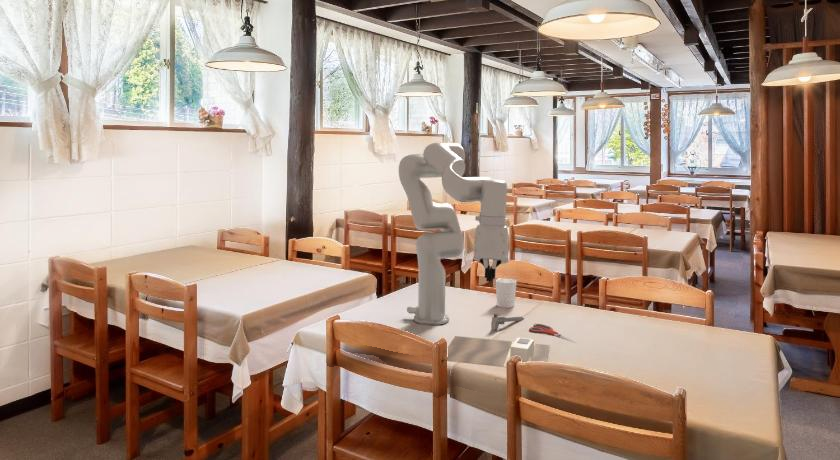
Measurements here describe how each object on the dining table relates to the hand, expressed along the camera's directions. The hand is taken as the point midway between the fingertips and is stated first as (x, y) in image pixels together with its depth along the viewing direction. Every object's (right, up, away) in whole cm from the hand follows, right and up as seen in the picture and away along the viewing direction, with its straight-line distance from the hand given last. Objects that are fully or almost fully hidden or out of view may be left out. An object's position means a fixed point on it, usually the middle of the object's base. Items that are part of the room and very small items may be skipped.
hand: (489, 280), depth 178 cm
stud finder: (+9, -22, -5) cm, 24 cm away
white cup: (+12, -14, +50) cm, 54 cm away
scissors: (+24, -20, +16) cm, 35 cm away
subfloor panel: (+2, -22, -2) cm, 22 cm away
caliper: (+9, -18, +26) cm, 33 cm away
